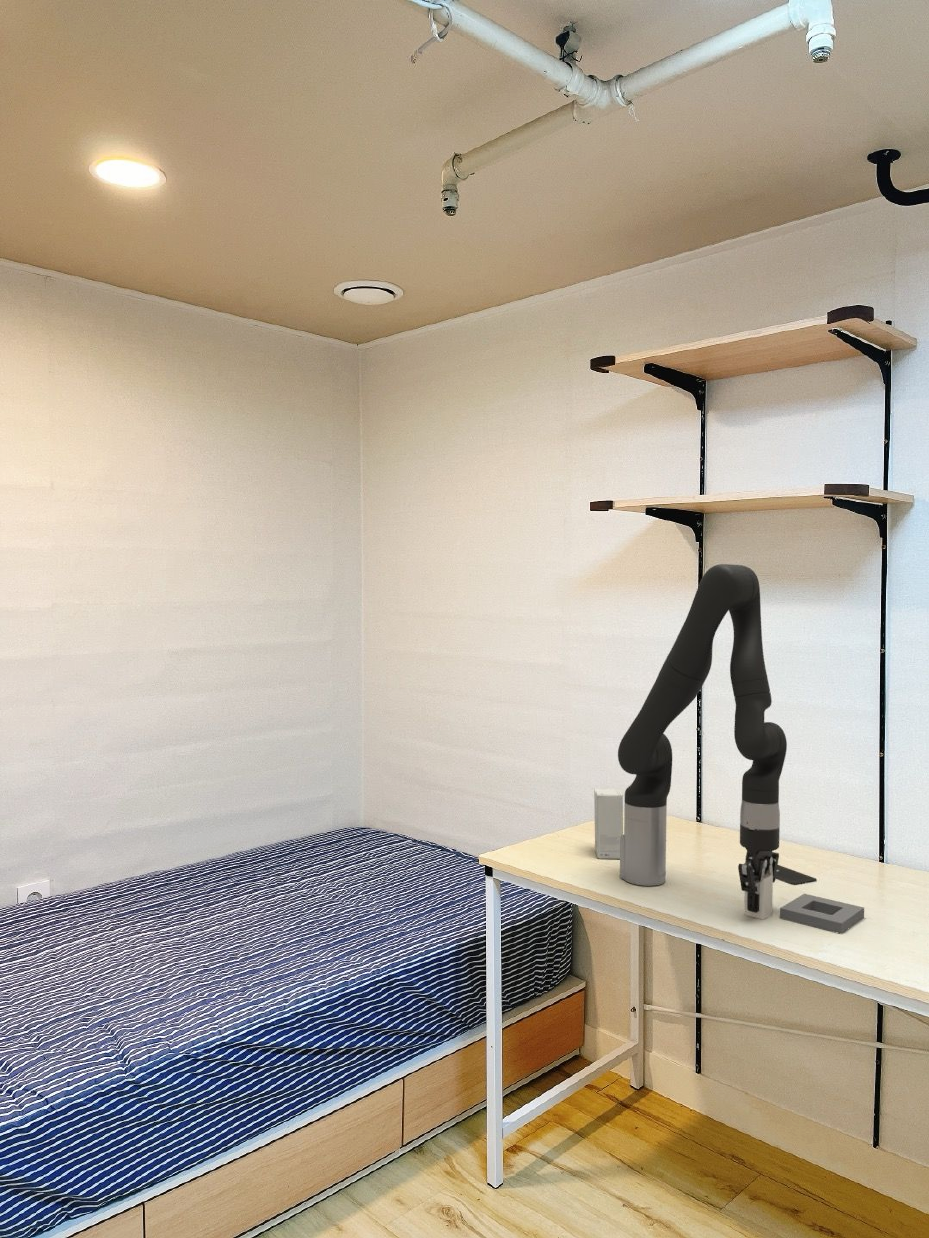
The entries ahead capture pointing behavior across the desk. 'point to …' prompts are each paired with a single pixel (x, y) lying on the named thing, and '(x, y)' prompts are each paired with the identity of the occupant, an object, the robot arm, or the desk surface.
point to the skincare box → (608, 822)
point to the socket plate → (836, 921)
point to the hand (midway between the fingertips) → (758, 907)
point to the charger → (762, 898)
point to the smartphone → (792, 876)
